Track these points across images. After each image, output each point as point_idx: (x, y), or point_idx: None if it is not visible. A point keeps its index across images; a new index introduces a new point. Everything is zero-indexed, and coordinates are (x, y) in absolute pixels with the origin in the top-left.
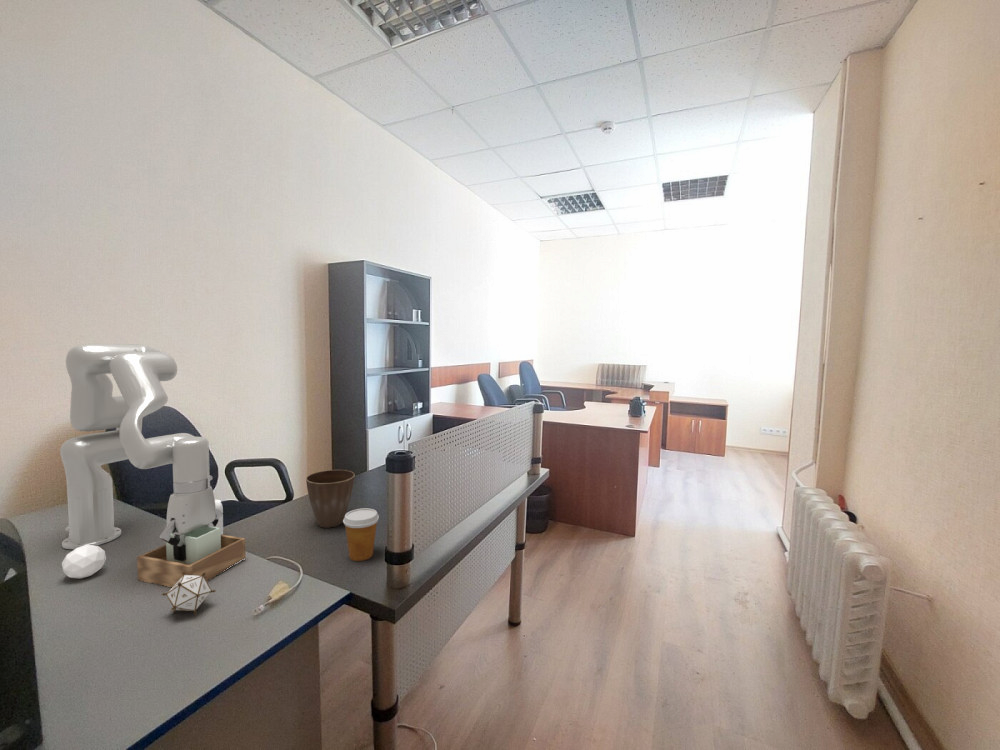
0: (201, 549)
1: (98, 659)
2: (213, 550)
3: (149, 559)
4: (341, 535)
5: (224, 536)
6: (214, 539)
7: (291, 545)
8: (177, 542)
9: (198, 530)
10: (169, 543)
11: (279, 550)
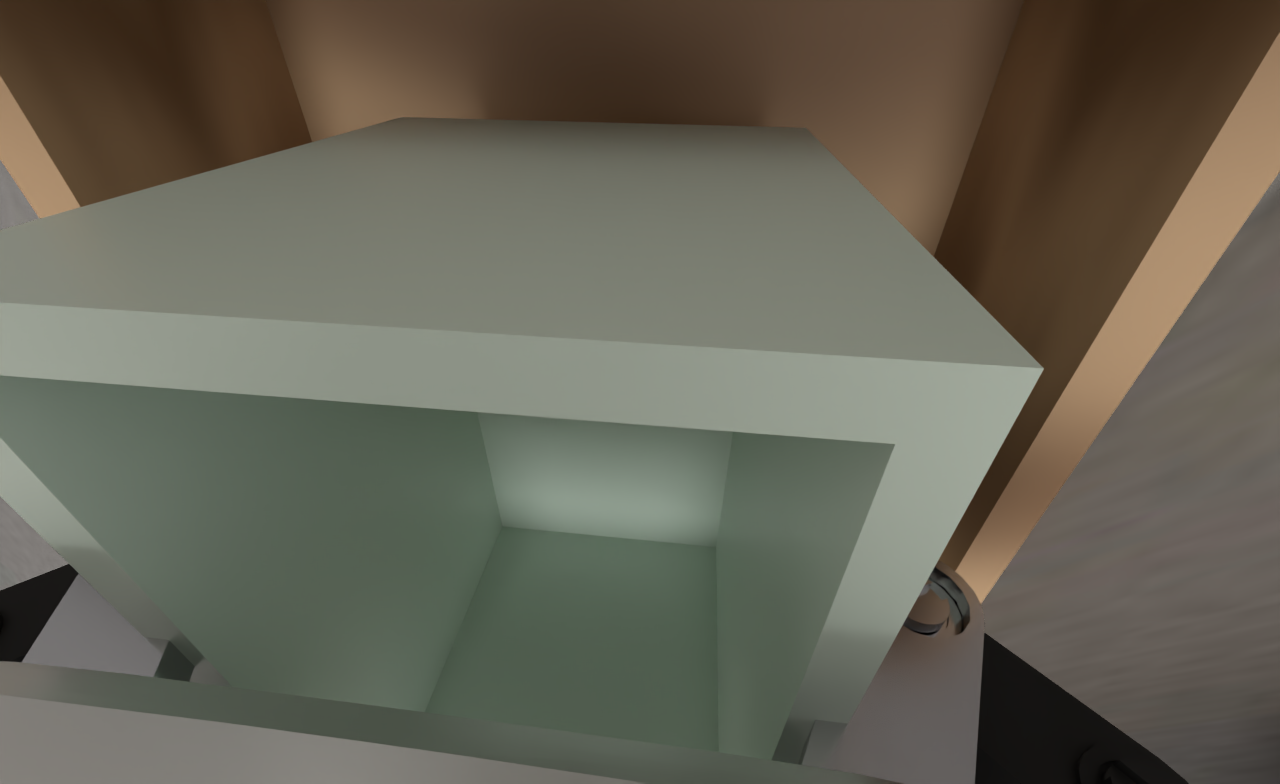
0: (494, 653)
1: (18, 524)
2: (648, 595)
3: (24, 185)
4: (1196, 778)
5: (960, 569)
6: (653, 722)
7: (1083, 652)
8: None
9: (781, 548)
10: (71, 577)
11: (1001, 628)
